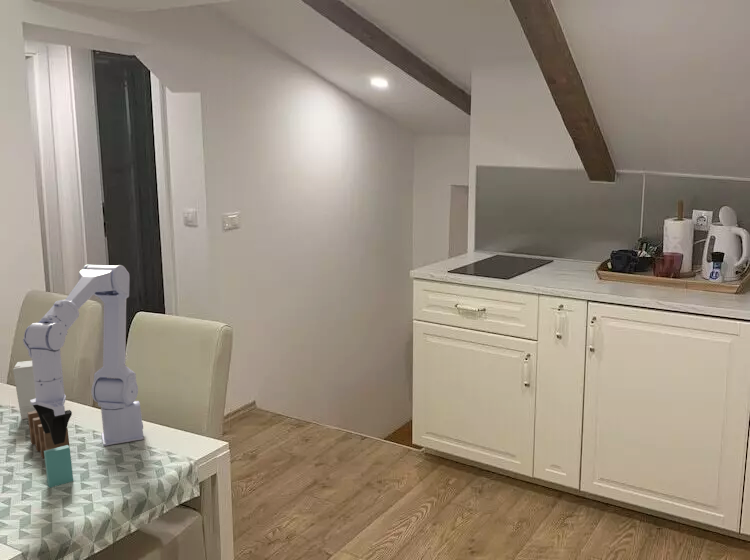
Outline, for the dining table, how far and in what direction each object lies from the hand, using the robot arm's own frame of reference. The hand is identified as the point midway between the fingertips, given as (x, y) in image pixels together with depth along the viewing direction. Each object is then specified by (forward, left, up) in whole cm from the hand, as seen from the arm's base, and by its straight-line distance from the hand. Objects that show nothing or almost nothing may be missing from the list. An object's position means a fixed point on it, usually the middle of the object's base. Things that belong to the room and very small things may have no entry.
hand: (54, 437), depth 166 cm
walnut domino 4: (0, -11, -11) cm, 16 cm away
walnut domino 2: (+2, -21, -11) cm, 24 cm away
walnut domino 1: (+4, -26, -11) cm, 28 cm away
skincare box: (+5, -46, -11) cm, 47 cm away
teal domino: (0, 0, -11) cm, 11 cm away
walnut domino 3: (+1, -16, -11) cm, 20 cm away
